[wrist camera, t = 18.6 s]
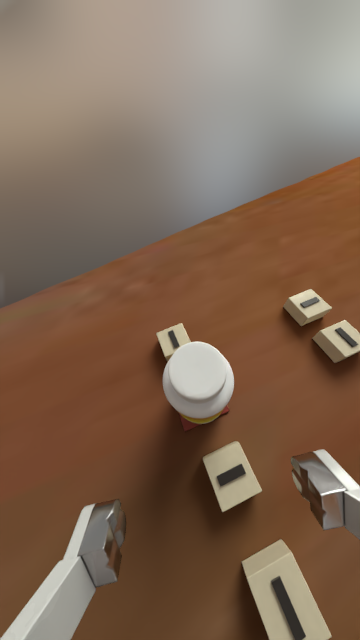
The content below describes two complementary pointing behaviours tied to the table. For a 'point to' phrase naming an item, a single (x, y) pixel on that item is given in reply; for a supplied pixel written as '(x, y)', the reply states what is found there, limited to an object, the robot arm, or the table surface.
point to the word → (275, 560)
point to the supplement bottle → (198, 382)
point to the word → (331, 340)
